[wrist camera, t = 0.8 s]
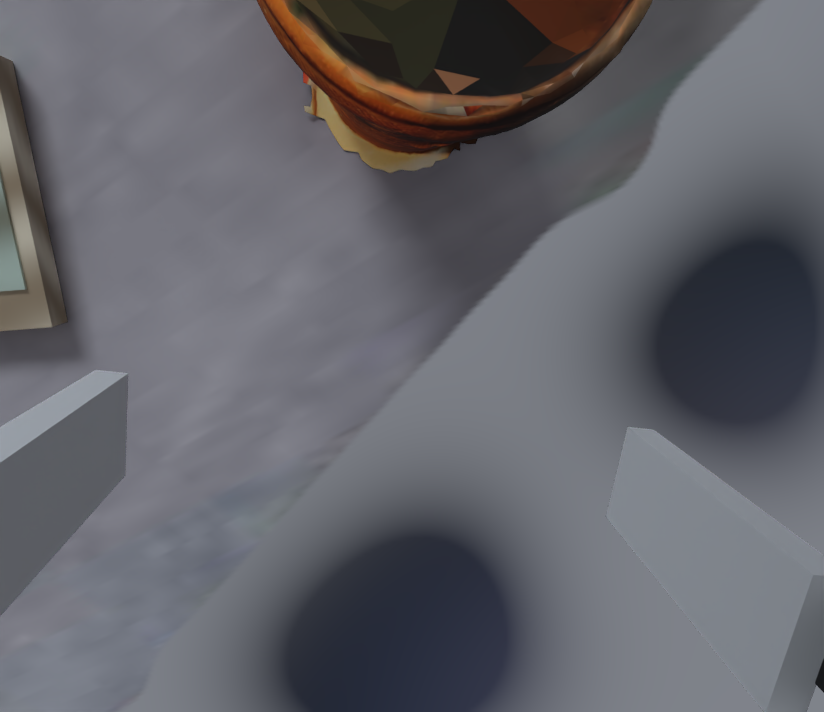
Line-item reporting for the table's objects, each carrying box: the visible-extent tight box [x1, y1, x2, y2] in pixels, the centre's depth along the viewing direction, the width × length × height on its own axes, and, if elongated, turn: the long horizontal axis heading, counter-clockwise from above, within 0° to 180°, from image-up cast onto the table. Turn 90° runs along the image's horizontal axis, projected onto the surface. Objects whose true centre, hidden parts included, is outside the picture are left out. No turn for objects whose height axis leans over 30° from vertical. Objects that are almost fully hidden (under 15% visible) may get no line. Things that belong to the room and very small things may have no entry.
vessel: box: [257, 0, 652, 173], centre depth 27 cm, size 14×14×20 cm
